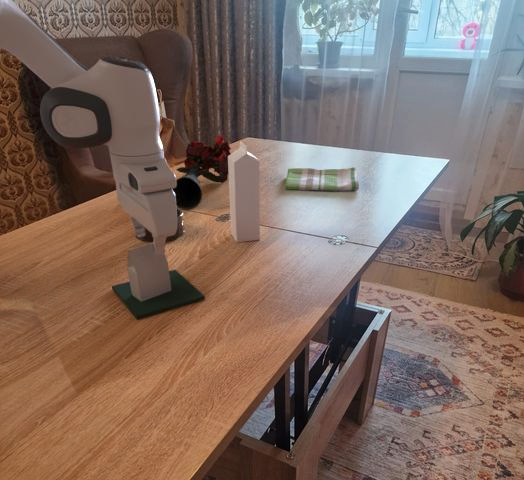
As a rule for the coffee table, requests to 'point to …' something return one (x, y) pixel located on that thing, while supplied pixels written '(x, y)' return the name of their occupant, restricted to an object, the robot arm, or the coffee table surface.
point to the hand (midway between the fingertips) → (149, 244)
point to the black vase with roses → (201, 171)
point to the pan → (179, 233)
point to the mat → (160, 297)
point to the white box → (147, 272)
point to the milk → (244, 195)
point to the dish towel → (322, 179)
